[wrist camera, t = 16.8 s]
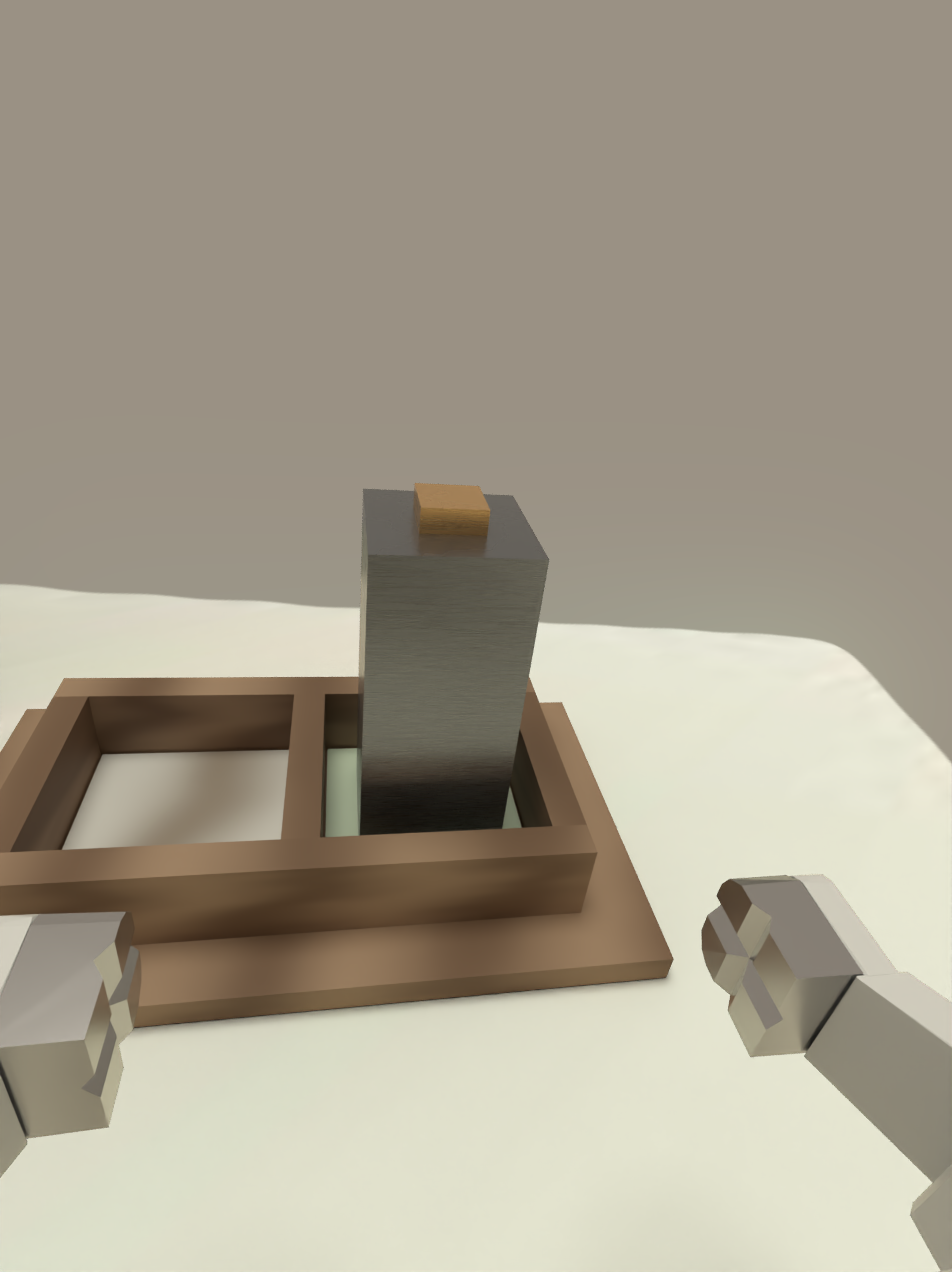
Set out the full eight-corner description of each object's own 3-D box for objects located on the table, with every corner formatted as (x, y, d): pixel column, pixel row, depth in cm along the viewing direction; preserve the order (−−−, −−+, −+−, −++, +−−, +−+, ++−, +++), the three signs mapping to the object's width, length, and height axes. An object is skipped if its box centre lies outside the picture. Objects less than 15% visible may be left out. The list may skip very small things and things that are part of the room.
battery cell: (358, 864, 25) (368, 526, 18) (356, 768, 29) (363, 464, 22) (497, 856, 26) (554, 533, 19) (475, 764, 30) (516, 472, 23)
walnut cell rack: (-158, 1054, 19) (-217, 963, 17) (31, 727, 31) (10, 650, 29) (666, 977, 24) (697, 898, 22) (558, 718, 35) (572, 651, 33)
